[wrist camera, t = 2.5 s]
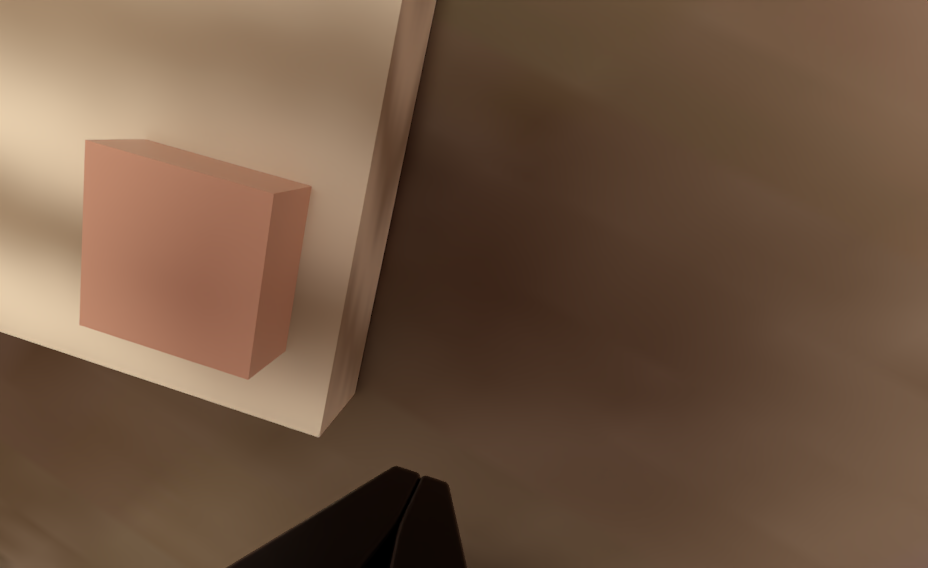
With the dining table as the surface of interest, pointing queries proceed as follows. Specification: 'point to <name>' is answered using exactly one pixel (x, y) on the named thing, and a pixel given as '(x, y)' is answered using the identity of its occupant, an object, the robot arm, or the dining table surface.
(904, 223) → the dining table surface
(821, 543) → the dining table surface
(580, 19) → the dining table surface
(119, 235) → the tile
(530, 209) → the dining table surface
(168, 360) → the large cream board
